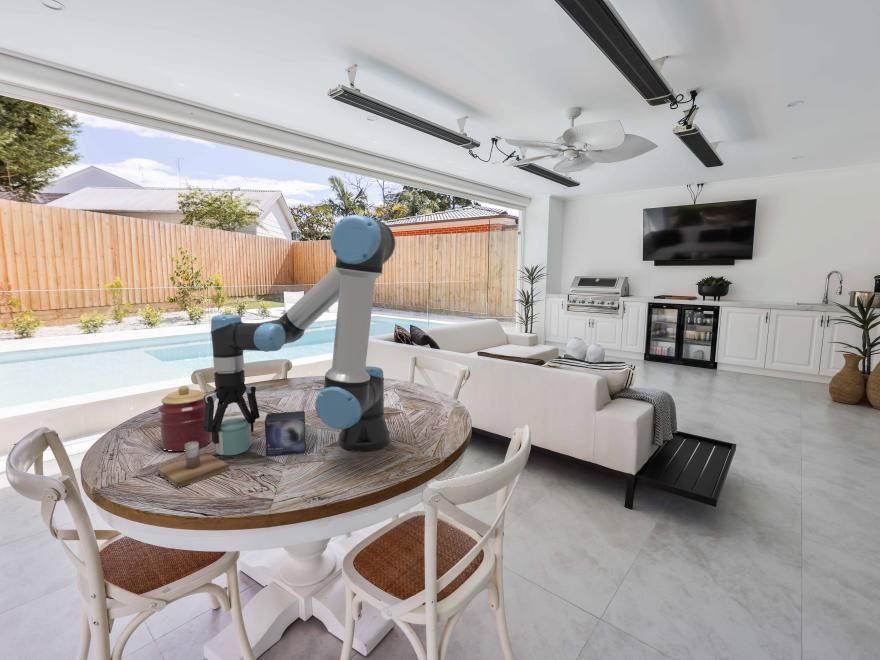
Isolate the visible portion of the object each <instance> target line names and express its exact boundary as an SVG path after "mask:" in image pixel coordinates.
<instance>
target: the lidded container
mask: <svg viewBox="0 0 880 660" xmlns="http://www.w3.org/2000/svg"><path fill="white" fill-rule="evenodd" d="M219 431H221V432H222V438H223V452H224V454H223V455H222V456H237V455H239V454H243V453H245V452H247V451H248V450H249V449H250V447H251V445H250V438H249V425H248V423H247V419H245V417H244V418H242V417H241V418H240V417H236V418H235V417H234V418H229V419H225V420H224V419H223V420H222V423H221V426H220V429H219Z"/></svg>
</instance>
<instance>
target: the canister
mask: <svg viewBox="0 0 880 660" xmlns="http://www.w3.org/2000/svg"><path fill="white" fill-rule="evenodd" d="M205 395H207V393H205V392H202V391H201V390H198V389H190V388H189V387H188V386H187V385H180V387H179V388H178V390H177V391H173V392H170V393H168V394H166V396H165V397H162V399H161V400H160V402H161V403H162V404H161V405H160V406H159V407H158V408H157V410H158V412H159V413H160V418H159V419H158V420H159V424H160V425H159V427H160V437H161V439H160V444H161V448H162V449H163V448H164V449H166V450H172V451H184V450H185V444H186V443H188V442H193V441H196V442H198V443H199V449H201V448H203V447H206V446H207V445H208V443H209V444H210V443H212V433H211V432H210V433H209V432H207V431H205V430H203V427H204V415H205V401H204V396H205ZM202 446H203V447H202ZM200 447H201V448H200ZM184 452H185V451H184Z"/></svg>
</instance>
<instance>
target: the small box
mask: <svg viewBox="0 0 880 660" xmlns="http://www.w3.org/2000/svg"><path fill="white" fill-rule="evenodd" d="M305 415H306V411H305V410H299V411H286V412H271V413H266V416H265V419H264V431H265V436H264V437H265V438H264V439H265V455H266V457H272V456H282V455H292V454H293V455H294V454H302V453H306V450H307V449H306V447H307V441H306V416H305Z"/></svg>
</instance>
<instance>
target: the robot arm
mask: <svg viewBox="0 0 880 660" xmlns="http://www.w3.org/2000/svg"><path fill="white" fill-rule="evenodd" d="M330 247H331V250H332V252H333V254H334V255H335V265H334V266H333V267H332V268H331V269H330V270H329V271H328V272H327V273H326V274H325V275H324V276H322V278H321V279H320V280H319V281H318V282H317V283H315V285H313V286H312V287H311V288H310V289H309V290H307V292H306V293H304V295H303V296H302V297H301V298H299V300H297V301H296V302H295V303H294V304H293V305H292V306H291V307H290V308H288V310H287V311H285V313H283V315H282V316H280V317H279V318H278V319H273V320H269V321H263V322H243V321H242V317H241V316H240V315H239V314H218V315H214V316H212V317H211V320H210V321H211V322H210V336H211V343H212V357H213V358H212V359H213V360H212V362H213V370H214V371H215V372H214V374H213V377H214V385H215V388H214V389H215V390H214V392H213V393H211V394H208V395H207V394H206V395H205V396H204V401H205V415H204V427H203V430H205V431H207V432H209V433H210V432H211V433H212V440H211V443H212V444H214V445H215V453H216V454H217V455H220V456H224V455H223V454H224V452H223V438H222V432H221V431H219V429H220V426H221V423H222V421H224V416H225V413H226V412H227V411H226V410H227V409H228V407H229V405H231V404H233V403H236V404H237V406H238V408H239V410H240V411H241V414H242V415H243V417H244V419H247V423H248V425H249V438H250V446H252V445H253V441H252V440H253V439H252V433H254V431H255V430H254V423H256V420H257V419H259V418H260V411H259V407H258V403H257V402H258V401H257V397H256V390H257V387H256V386H253V385H248V386H247V385H246V384H245V382H246V376H245V375H246V374H245V370H244V368H245V361H244V351H257V352H266V353H268V352H277V351H280V350H281V349H282V347H283V346H284V345H286V344H291V343H295V342H296V341H298V340H300V339H302V337H303V336H304V334H305V331H306V329H307V328H309V327H310V326H311V325H312V324H313V323H314V322H315V321H317V320H318V319H319V318H320V317H321V316H323V314H324V313H325V312H326V311H328V310H329V309H330V308H331V307H332V306H333V305H334V304H335V303H336V302H338V303H337V311H336V321H335V331H334V341H333V342H334V343H333V353H332V354H333V355H332V362H331V368H329V369H328V370H327V371H326V372H325V375H324V382H323V389H322V390H321V391H320V392H319V393H318V394H317V396H316V398H315V402H314V406H315V407H314V408H315V412H316V415H317V416H318V418H319V419H320V420H321V421H322V423H323V424H324V425H326V426H327V427H329V428H331V429H335V430H340V433H339V434H338V445H339V446H340V447H341V448H342V449H344V450H347V451H351V452H358V453H359V452H372V451H376V450H380V449H383V448H384V447H386V446H387V445H389V443H390V441H391V435H390V434H391V433H390V431H389V428H388V425H387V422H386V418H385V415H384V414H385V412H384V411H385V409H384V408H385V405H384V404H385V401H384V400H385V399H384V397H385V396H384V395H385V394H384V393H385V390H384V387H385V384H384V381H385V377H384V371H383V369H382V368H381V367H378V366H371V365H366V364H367V358H368V357H367V356H368V348H369V339H370V329H371V322H372V321H371V320H372V311H373V304H374V303H373V302H374V293H375V283H376V280H377V278H379V277H380V276H382V274H383V269H384V264H385V263H386V262H387V261H389V260H390V259H391V257H392V256H393V254H394V251H395V248H396V239H395V235H394V232H393V231H392V229H391V228H390V226H388V225H387V224H385V223H384V222H382V221H380V220H376V219H374V218H372V217H370V216H367V215H363V214H361V215H360V214H351V215H347V216H344V217H342V218H341V219H340V220H339V221H338V222H336V224H335V225H334V227H333V228H332V231H331V234H330ZM245 393H246V397H247V402H248V405H249V406H248V405H247V403H246V400H245V398H244V394H245ZM216 399H218V401H217V403H216V404H217V407H216V410H215V402H216ZM214 411H215V412H214Z"/></svg>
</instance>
